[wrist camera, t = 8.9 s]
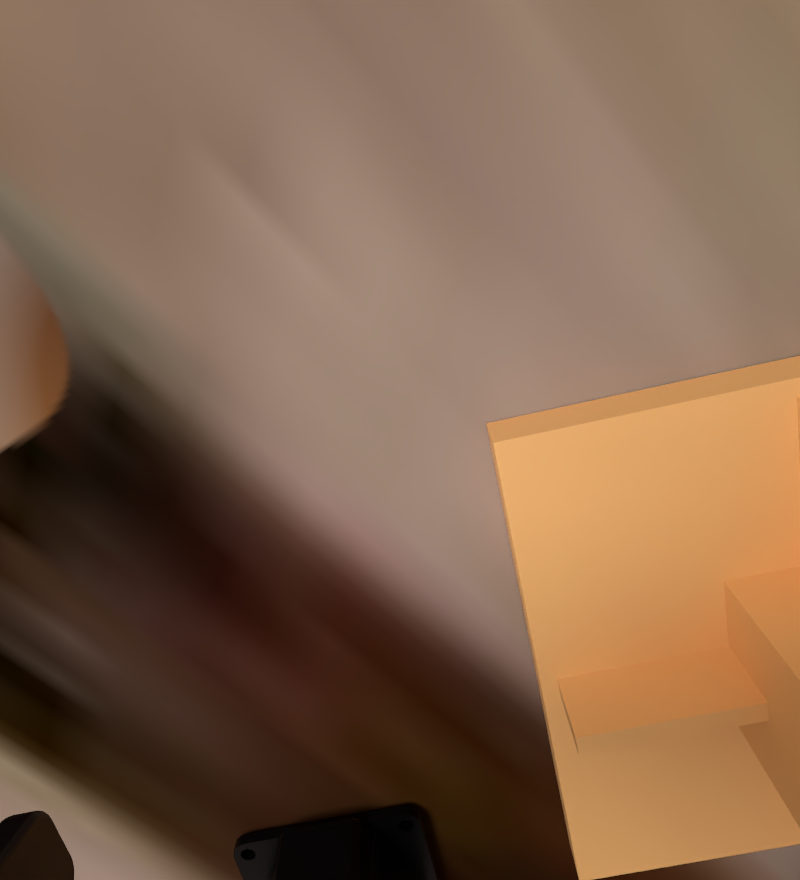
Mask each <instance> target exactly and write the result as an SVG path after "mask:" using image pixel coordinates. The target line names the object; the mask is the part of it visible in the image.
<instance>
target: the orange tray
mask: <svg viewBox="0 0 800 880" xmlns="http://www.w3.org/2000/svg"><path fill="white" fill-rule="evenodd" d="M486 425H487V430H488V435H489V440H490V445H491V450H492V455H493V460H494V465H495V470H496V475H497V480H498V485H499V490H500V495H501V500H502V505H503V510H504V515H505V520H506V525H507V530H508V535H509V540H510V545H511V550H512V555H513V560H514V566H515V571H516V576H517V581H518V586H519V591H520V596H521V601H522V606H523V611H524V616H525V621H526V626H527V631H528V636H529V641H530V646H531V651H532V656H533V661H534V666H535V671H536V676H537V681H538V686H539V691H540V696H541V701H542V706H543V711H544V716H545V722H546V727H547V732H548V737H549V742H550V747H551V752H552V757H553V762H554V767H555V772H556V777H557V782H558V787H559V792H560V797H561V802H562V807H563V812H564V817H565V822H566V827H567V832H568V837H569V842H570V846H571V850H572V854H573V858H574V862H575V866H576V870H577V874H578V878H579V880H593V879H599V878H605V877H611V876H616V875H622V874H628V873H634V872H640V871H646V870H651V869H657V868H663V867H669V866H675V865H681V864H686V863H692V862H698V861H704V860H710V859H716V858H721V857H727V856H733V855H739V854H745V853H750V852H756V851H762V850H768V849H774V848H780V847H785V846H791V845H797V844H800V356H795V357H791V358H786V359H782V360H777V361H772V362H768V363H763V364H758V365H754V366H749V367H745V368H740V369H735V370H731V371H726V372H722V373H717V374H712V375H708V376H703V377H698V378H694V379H689V380H685V381H680V382H675V383H671V384H666V385H661V386H657V387H652V388H648V389H643V390H638V391H634V392H629V393H624V394H620V395H615V396H611V397H606V398H601V399H597V400H592V401H587V402H583V403H578V404H574V405H569V406H564V407H560V408H555V409H550V410H546V411H541V412H537V413H532V414H527V415H523V416H518V417H514V418H509V419H504V420H500V421H495V422H490V423H486Z"/></svg>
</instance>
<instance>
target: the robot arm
mask: <svg viewBox="0 0 800 880" xmlns="http://www.w3.org/2000/svg"><path fill="white" fill-rule="evenodd" d="M403 821H409V822H403ZM247 849H251V850H247ZM234 858H235V861H236V863H237V865H238V868H239V870H240V873H241V875H242V877H243V880H439V876H438V873H437V869H436V866H435V863H434V859H433V856H432V852H431V849H430V845H429V842H428V838H427V835H426V831H425V828H424V824H423V821H422V817H421V814H420V812H419V811H418V809H416V808H415V807H413V806H409V805H405V806H398V807H392V808H387V809H381V810H376V811H370V812H365V813H359V814H354V815H348V816H343V817H337V818H332V819H326V820H321V821H315V822H310V823H304V824H299V825H293V826H288V827H282V828H277V829H271V830H266V831H260V832H255V833H249V834H245V835H242V836H240V837H239V838H238V839H237V841H236V844H235V849H234ZM0 880H74V866H73V861H72V858H71V856H70V854H69V852H68V850H67V848H66V846H65V844H64V842H63V840H62V839H61V837H60V835H59V833H58V831H57V829H56V827H55V825H54V823H53V821H52V819H51V818H50V816H49V815H48V814H46V813H45V812H43V811H33V812H28V813H23V814H17V815H13V816H10V817H8V818H6V819H4V820H3V821H2V822H1V823H0Z"/></svg>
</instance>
